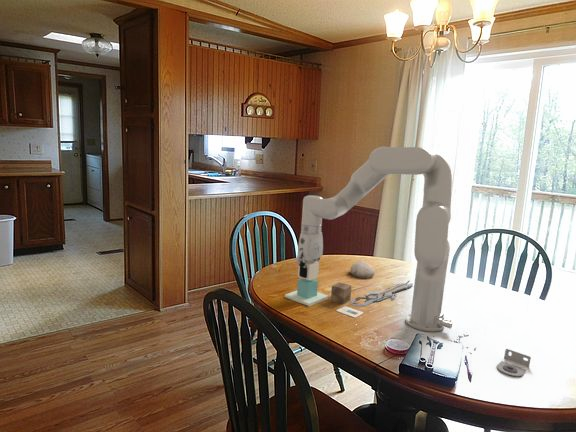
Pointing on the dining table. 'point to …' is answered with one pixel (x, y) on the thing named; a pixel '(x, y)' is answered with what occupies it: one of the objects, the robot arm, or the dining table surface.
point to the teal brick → (307, 288)
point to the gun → (381, 294)
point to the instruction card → (350, 311)
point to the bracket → (514, 369)
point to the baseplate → (306, 301)
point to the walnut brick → (341, 293)
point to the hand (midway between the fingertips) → (308, 274)
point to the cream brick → (311, 269)
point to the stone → (362, 270)
